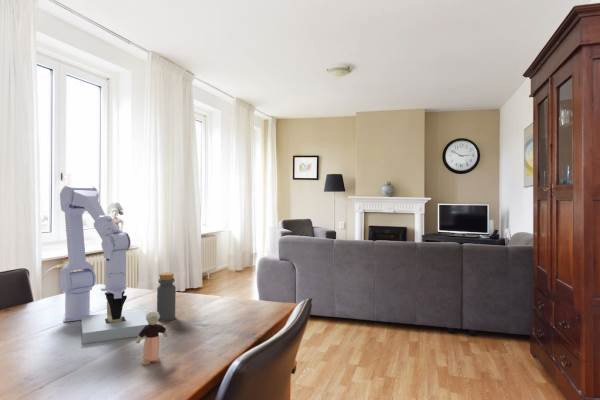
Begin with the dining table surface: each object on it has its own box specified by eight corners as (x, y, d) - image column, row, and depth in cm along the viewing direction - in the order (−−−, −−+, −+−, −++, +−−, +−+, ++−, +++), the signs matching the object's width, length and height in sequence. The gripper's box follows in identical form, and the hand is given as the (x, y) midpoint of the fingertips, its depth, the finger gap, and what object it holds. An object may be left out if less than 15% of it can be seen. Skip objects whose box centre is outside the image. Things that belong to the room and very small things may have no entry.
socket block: (81, 325, 128) (81, 316, 128) (142, 318, 136) (142, 309, 136) (82, 344, 112) (82, 333, 112) (151, 334, 121) (151, 323, 121)
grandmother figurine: (141, 368, 97) (142, 315, 97) (133, 363, 99) (134, 312, 99) (170, 358, 103) (171, 308, 103) (162, 354, 105) (163, 305, 105)
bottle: (169, 321, 133) (170, 275, 133) (153, 320, 134) (153, 274, 134) (178, 316, 139) (178, 272, 139) (162, 315, 140) (163, 271, 140)
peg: (107, 326, 125) (106, 300, 125) (121, 324, 127) (120, 298, 127) (107, 330, 121) (107, 303, 121) (122, 328, 123) (121, 301, 123)
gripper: (99, 269, 128) (99, 312, 129) (102, 277, 116) (102, 325, 116) (124, 268, 132) (123, 309, 132) (129, 275, 119) (129, 322, 119)
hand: (115, 317), depth 124 cm, fingers open, 4 cm apart
